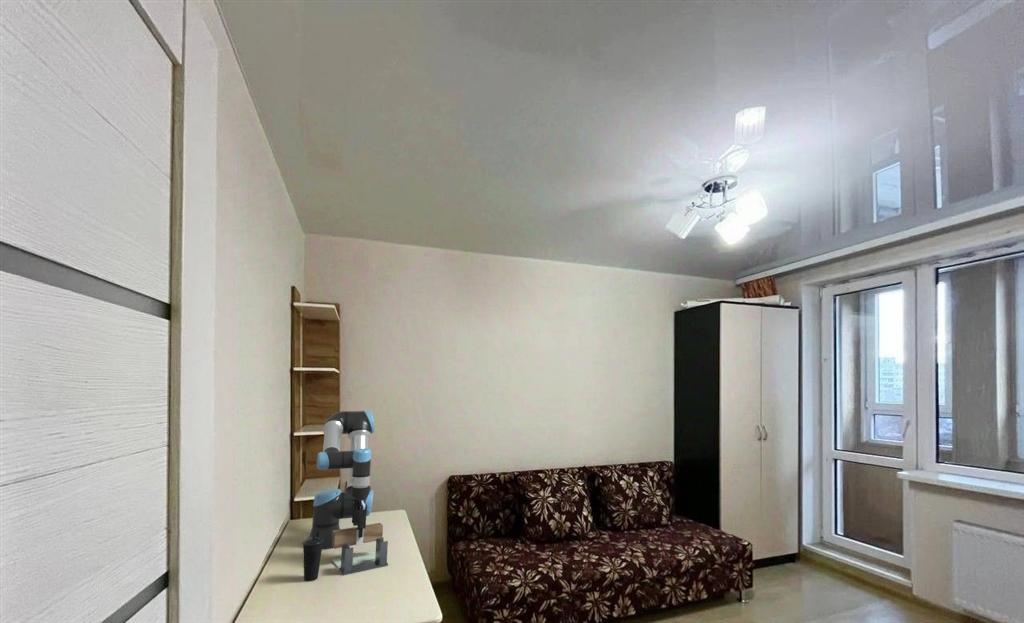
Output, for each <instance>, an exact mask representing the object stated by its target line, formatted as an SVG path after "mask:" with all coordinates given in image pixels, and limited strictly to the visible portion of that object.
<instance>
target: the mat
mask: <svg viewBox="0 0 1024 623" xmlns="http://www.w3.org/2000/svg"><path fill="white" fill-rule="evenodd" d="M375 556H376V550H372V551H368V552H362V553H357V554H353V565H356V564H361V563H366V562H370V561H375ZM331 561H332V563H333V564H334V565H335V567H336V568H337V569H339V568H341V557H336V558H332V560H331Z"/></svg>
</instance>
